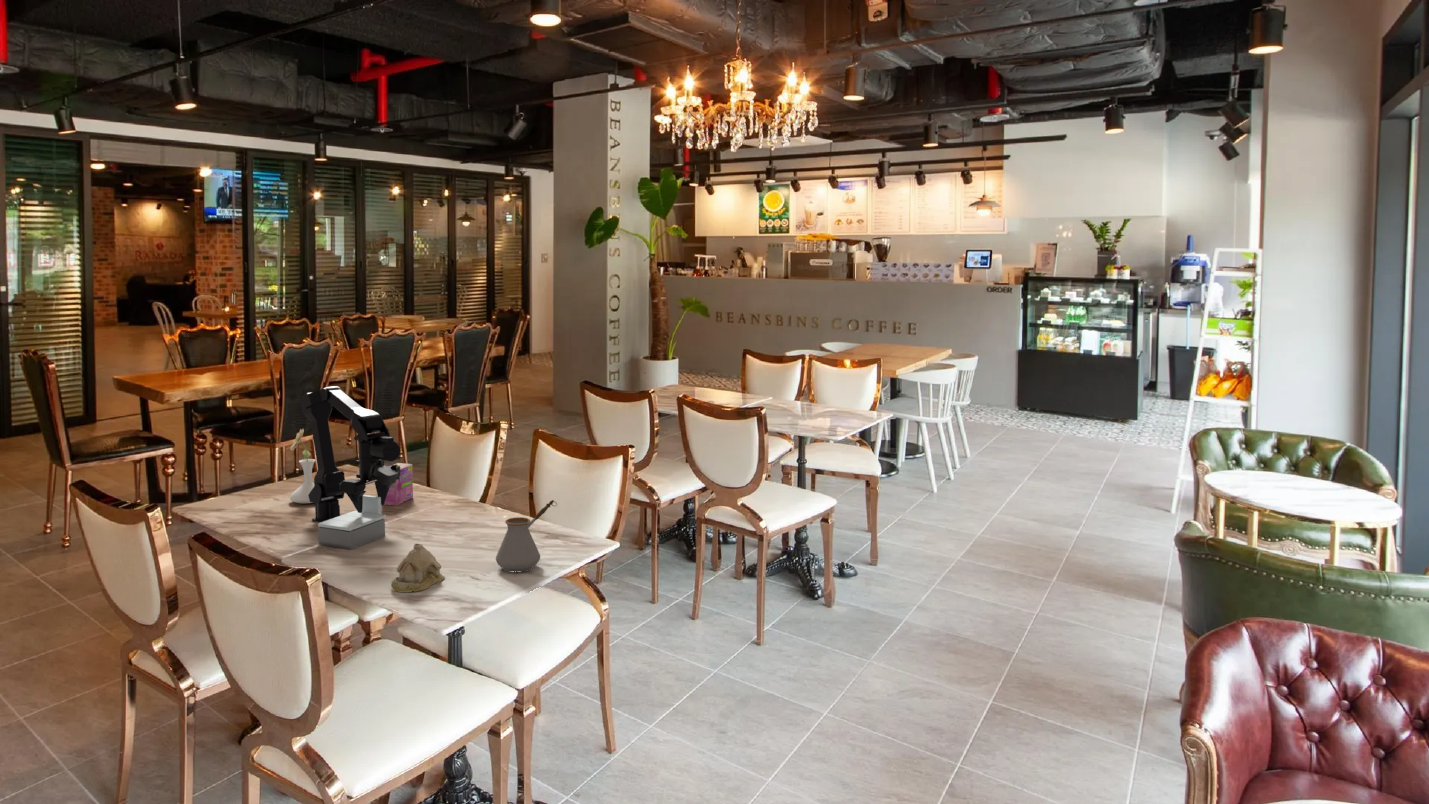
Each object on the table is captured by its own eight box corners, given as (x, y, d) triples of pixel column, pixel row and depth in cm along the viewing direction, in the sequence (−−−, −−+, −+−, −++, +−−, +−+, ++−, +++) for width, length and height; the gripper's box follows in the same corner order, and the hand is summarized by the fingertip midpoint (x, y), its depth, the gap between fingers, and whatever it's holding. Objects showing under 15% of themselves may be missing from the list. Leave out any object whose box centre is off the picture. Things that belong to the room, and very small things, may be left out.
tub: (318, 544, 246) (318, 527, 245) (354, 531, 259) (353, 514, 258) (350, 549, 242) (349, 532, 241) (385, 535, 255) (384, 518, 254)
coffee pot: (521, 578, 224) (520, 521, 221) (486, 570, 229) (485, 514, 226) (571, 555, 242) (571, 502, 240) (538, 548, 248) (538, 496, 245)
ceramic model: (407, 572, 226) (406, 535, 224) (449, 574, 225) (449, 537, 224) (383, 592, 212) (381, 552, 211) (428, 594, 211) (427, 554, 210)
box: (396, 505, 286) (395, 470, 285) (381, 504, 288) (379, 469, 286) (413, 498, 297) (412, 463, 295) (398, 496, 298) (397, 462, 296)
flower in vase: (297, 497, 294) (293, 423, 290) (332, 497, 295) (329, 423, 291) (282, 507, 281) (278, 431, 277) (319, 507, 282) (316, 431, 278)
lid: (317, 526, 245) (317, 506, 244) (357, 512, 259) (357, 493, 259) (349, 531, 241) (349, 511, 240) (388, 516, 256) (387, 497, 255)
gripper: (369, 465, 243) (371, 520, 246) (413, 453, 261) (414, 504, 263) (337, 461, 247) (339, 515, 249) (382, 449, 264) (384, 500, 267)
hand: (371, 508), depth 257 cm, fingers open, 9 cm apart
